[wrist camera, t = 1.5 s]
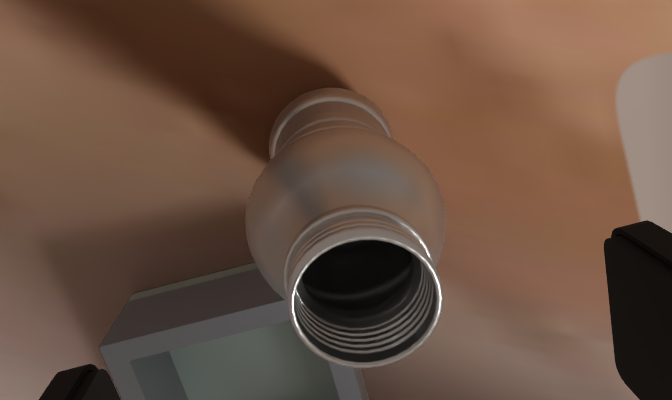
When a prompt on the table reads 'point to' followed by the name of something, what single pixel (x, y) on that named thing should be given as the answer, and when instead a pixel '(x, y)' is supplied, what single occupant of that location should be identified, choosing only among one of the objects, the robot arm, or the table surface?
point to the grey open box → (219, 345)
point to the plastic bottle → (348, 230)
